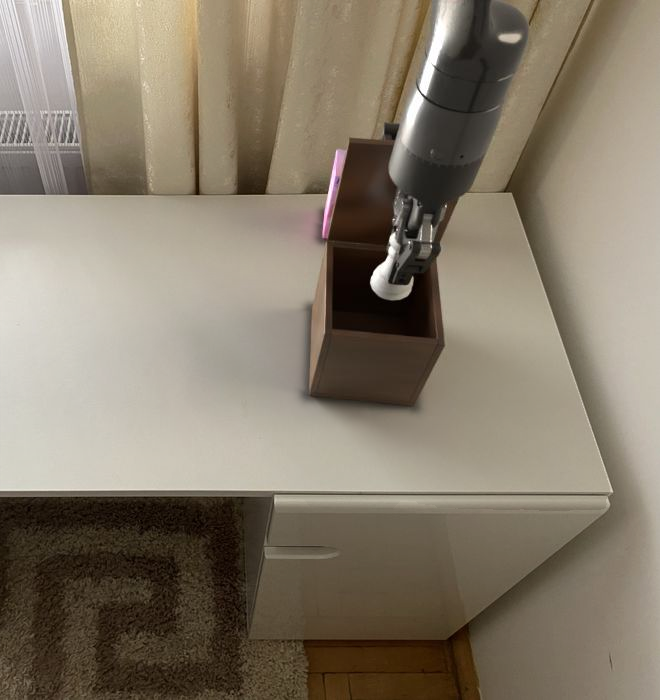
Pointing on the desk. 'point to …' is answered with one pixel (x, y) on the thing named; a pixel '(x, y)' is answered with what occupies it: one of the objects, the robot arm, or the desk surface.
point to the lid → (370, 193)
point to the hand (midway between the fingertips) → (397, 267)
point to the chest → (372, 330)
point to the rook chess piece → (381, 277)
